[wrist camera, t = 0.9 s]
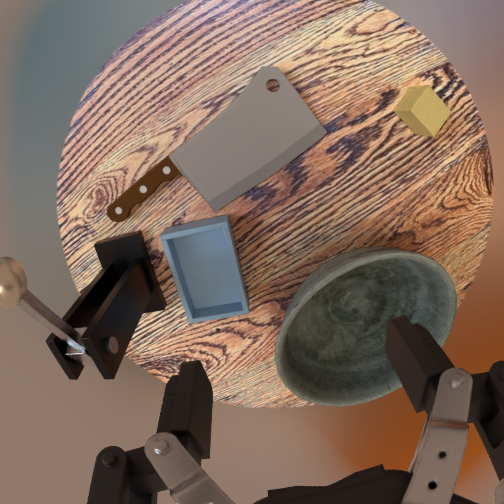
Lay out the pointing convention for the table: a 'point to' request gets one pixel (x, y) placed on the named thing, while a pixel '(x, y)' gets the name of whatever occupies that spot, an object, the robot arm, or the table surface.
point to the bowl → (359, 322)
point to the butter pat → (422, 111)
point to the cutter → (111, 305)
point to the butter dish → (206, 269)
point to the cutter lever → (39, 309)
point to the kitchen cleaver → (235, 146)
